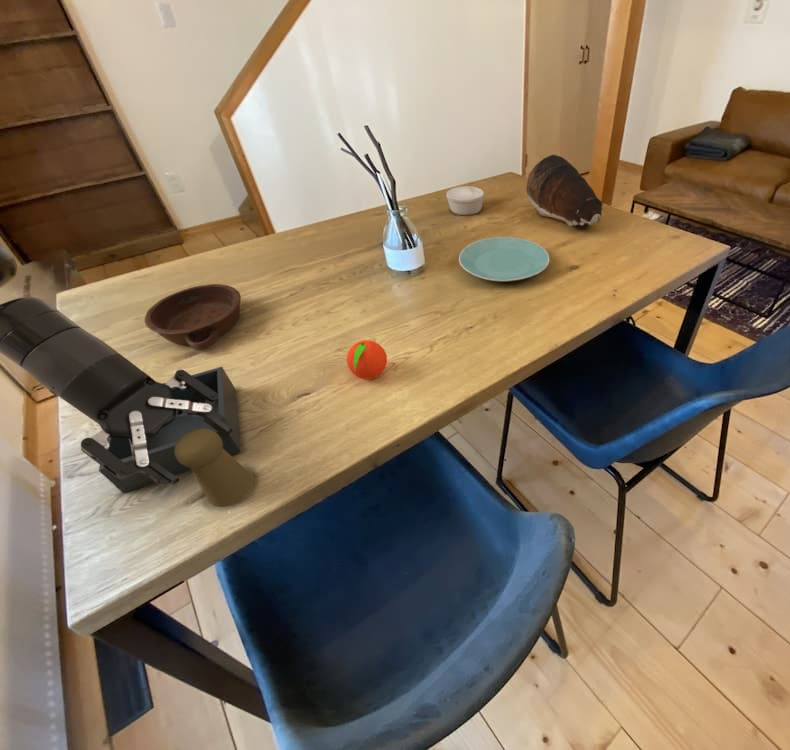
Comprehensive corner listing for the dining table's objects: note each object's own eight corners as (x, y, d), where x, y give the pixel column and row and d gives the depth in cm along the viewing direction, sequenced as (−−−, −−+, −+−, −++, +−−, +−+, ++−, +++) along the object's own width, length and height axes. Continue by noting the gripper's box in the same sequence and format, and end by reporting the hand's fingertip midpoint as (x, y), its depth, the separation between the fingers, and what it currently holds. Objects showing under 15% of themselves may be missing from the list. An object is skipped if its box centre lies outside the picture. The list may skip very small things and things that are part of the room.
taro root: (584, 199, 108) (531, 153, 121) (565, 252, 120) (519, 205, 132) (627, 195, 115) (572, 152, 128) (605, 245, 127) (557, 201, 139)
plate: (539, 243, 117) (540, 233, 115) (557, 286, 101) (558, 275, 99) (457, 249, 115) (456, 239, 114) (462, 294, 99) (461, 283, 97)
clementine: (380, 393, 76) (371, 362, 71) (343, 389, 77) (331, 358, 72) (395, 363, 82) (388, 333, 77) (361, 359, 83) (351, 329, 78)
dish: (239, 290, 102) (230, 271, 99) (259, 337, 89) (249, 317, 85) (154, 314, 95) (140, 295, 92) (161, 370, 82) (146, 349, 78)
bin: (123, 493, 62) (98, 470, 58) (133, 420, 72) (113, 397, 69) (241, 452, 67) (225, 429, 63) (235, 389, 77) (222, 366, 74)
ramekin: (491, 209, 135) (491, 191, 131) (466, 220, 129) (465, 202, 125) (466, 200, 140) (465, 183, 137) (440, 210, 134) (438, 193, 131)
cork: (241, 507, 60) (203, 459, 53) (198, 506, 60) (154, 458, 53) (260, 470, 65) (227, 421, 57) (220, 470, 65) (182, 421, 57)
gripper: (22, 404, 46) (160, 497, 50) (145, 327, 55) (252, 411, 60) (28, 424, 51) (153, 506, 56) (140, 350, 61) (238, 426, 65)
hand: (204, 457), depth 58 cm, fingers open, 8 cm apart
